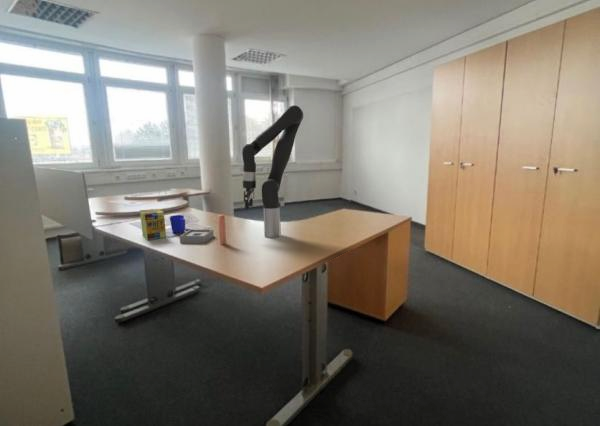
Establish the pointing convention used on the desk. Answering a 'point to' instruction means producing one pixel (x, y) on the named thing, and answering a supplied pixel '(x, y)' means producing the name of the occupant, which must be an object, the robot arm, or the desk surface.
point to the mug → (177, 223)
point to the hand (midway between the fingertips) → (248, 207)
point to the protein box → (153, 224)
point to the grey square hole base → (196, 236)
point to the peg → (222, 229)
